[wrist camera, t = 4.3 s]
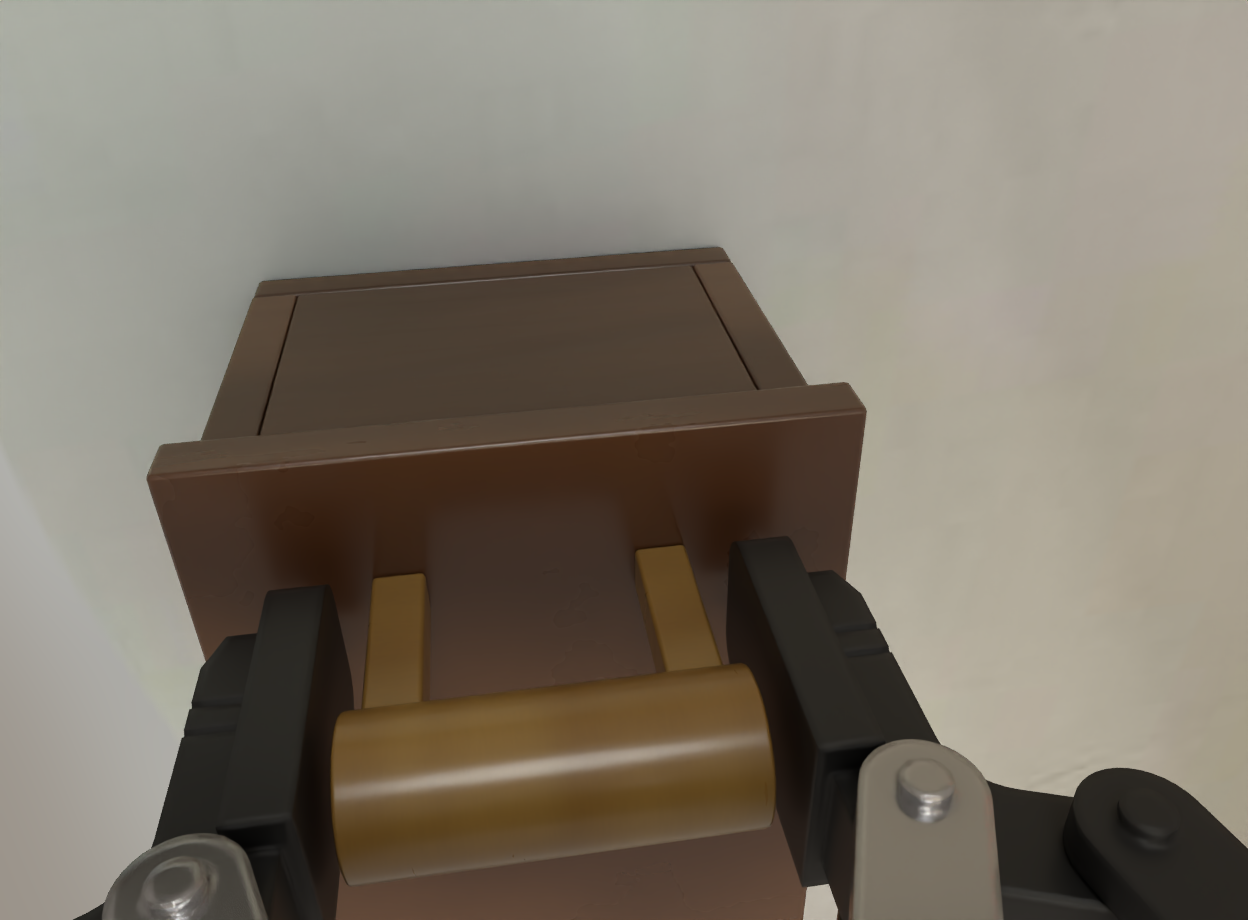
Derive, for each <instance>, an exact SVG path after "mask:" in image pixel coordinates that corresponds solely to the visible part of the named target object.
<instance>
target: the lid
mask: <svg viewBox="0 0 1248 920" xmlns="http://www.w3.org/2000/svg"><path fill="white" fill-rule="evenodd" d="M866 412H867V411H866V408H865V406H864V405H863V403H862V402H861V401H860V399H859V398H858V396H857V395H856V393H855V392H854V390H853V389H852V387H851V386H850V385H849V383H845V382H841V383H830V384H819V385H808V386H797V387H786V388H775V389H764V390H753V391H742V392H731V393H720V394H709V395H698V396H687V397H676V398H665V399H654V400H643V401H632V402H621V403H610V404H600V405H589V406H578V407H567V408H556V409H545V410H534V411H523V412H512V413H501V414H490V415H479V416H468V417H457V418H446V419H435V420H424V421H413V422H402V423H391V424H380V425H369V426H358V427H347V428H336V429H325V430H314V431H303V432H292V433H281V434H270V435H259V436H248V437H237V438H226V439H215V440H204V441H193V442H182V443H171V444H163V445H161V446H159V449H158V451H157V453H156V456H155V458H154V460H153V463H152V465H151V467H150V470H149V472H148V474H147V478H146V480H147V483H148V486H149V489H150V492H151V495H152V498H153V501H154V504H155V507H156V510H157V513H158V516H159V519H160V522H161V526H162V529H163V532H164V535H165V538H166V541H167V544H168V547H169V550H170V553H171V556H172V559H173V562H174V565H175V569H176V572H177V575H178V578H179V581H180V584H181V587H182V590H183V593H184V596H185V599H186V602H187V605H188V608H189V611H190V615H191V618H192V621H193V624H194V627H195V630H196V633H197V636H198V639H199V642H200V645H201V648H202V651H203V654H204V657H205V661H207V660H208V659H209V658H210V656H211V655H212V654H213V653H214V651H215V650H216V649H217V648H218V646H219V645H220V644H221V643H222V641H223V640H224V639H225V638H226V636H235V635H244V634H253V633H257V631H258V627H259V622H260V618H261V613H262V608H263V604H264V599H265V596H266V594H267V592H268V591H270V590H278V589H287V588H297V587H306V586H315V585H325V584H328V585H330V587H331V589H332V592H333V595H334V599H335V604H336V608H337V613H338V617H339V622H340V626H341V631H342V635H343V640H344V644H345V649H346V653H347V657H348V662H349V666H350V671H351V677H352V684H353V694H354V710H348V711H344V712H342V713H340V714H339V715H338V717H337V720H336V723H335V726H334V731H333V736H332V744H331V757H330V801H331V817H332V827H333V836H334V843H335V850H336V855H337V860H338V864H339V868H340V878H339V889H338V900H337V911H336V920H803V914H804V906H805V898H806V890H807V887H804V888H802V886H801V883H800V879H799V876H798V873H797V870H796V867H795V864H794V861H793V858H792V855H791V852H790V849H789V846H788V843H787V840H786V837H785V834H784V831H783V828H782V825H781V822H780V819H779V816H778V813H777V810H776V770H775V760H774V752H773V745H772V739H771V733H770V728H769V723H768V718H767V714H766V710H765V706H764V702H763V699H762V696H761V693H760V689H759V687H758V684H757V682H756V680H755V677H754V675H753V673H752V672H751V670H750V669H749V667H748V666H747V665H745V664H743V663H735V664H729V659H728V652H727V643H726V616H727V594H728V572H729V553H730V547H731V544H732V542H734V541H743V540H753V539H762V538H771V537H781V536H788V537H790V539H791V540H792V542H793V544H794V546H795V548H796V550H797V552H798V554H799V556H800V558H801V561H802V563H803V565H804V567H805V569H806V571H807V573H808V572H817V571H826V570H833V571H834V572H836V573H837V574H838V575H839V576H840V577H842V578H843V579H844V580H846V572H847V564H848V556H849V548H850V540H851V532H852V524H853V516H854V508H855V500H856V492H857V484H858V476H859V468H860V460H861V452H862V444H863V436H864V428H865V420H866Z"/></svg>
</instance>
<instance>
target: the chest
mask: <svg viewBox="0 0 1248 920" xmlns="http://www.w3.org/2000/svg"><path fill="white" fill-rule="evenodd" d="M797 386H808V384H807V383H806V381H805V380H804V378H803V376H802V375H801V373H800V371H799V370H798V368H797V367H796V365H795V363H794V362H793V360H792V358H791V357H790V355H789V354H788V352H787V350H786V349H785V347H784V346H783V344H782V342H781V341H780V339H779V337H778V336H777V334H776V333H775V331H774V329H773V328H772V326H771V325H770V323H769V321H768V320H767V318H766V316H765V315H764V313H763V312H762V310H761V308H760V307H759V305H758V304H757V302H756V300H755V299H754V297H753V295H752V294H751V292H750V291H749V289H748V287H747V286H746V284H745V283H744V281H743V279H742V278H741V276H740V274H739V273H738V271H737V270H736V268H735V266H734V265H733V263H731V261H730V259H729V257H728V256H727V254H726V252H725V251H724V249H723V248H721V247H715V248H702V249H688V250H675V251H661V252H648V253H635V254H621V255H608V256H594V257H581V258H568V259H554V260H541V261H528V262H514V263H501V264H487V265H474V266H461V267H447V268H434V269H420V270H407V271H394V272H380V273H367V274H353V275H340V276H327V277H313V278H300V279H286V280H273V281H262V282H260V283H259V285H258V288H257V291H256V294H255V297H254V298H253V299H252V302H251V304H250V307H249V310H248V313H247V315H246V318H245V321H244V324H243V326H242V329H241V332H240V334H239V337H238V340H237V343H236V345H235V348H234V351H233V354H232V356H231V359H230V362H229V364H228V367H227V370H226V373H225V375H224V378H223V381H222V384H221V386H220V389H219V392H218V395H217V397H216V400H215V403H214V405H213V408H212V411H211V414H210V416H209V419H208V422H207V425H206V427H205V430H204V433H203V435H202V438H201V441H204V440H215V439H226V438H237V437H248V436H259V435H270V434H281V433H292V432H303V431H314V430H325V429H336V428H347V427H358V426H369V425H380V424H391V423H402V422H413V421H424V420H435V419H446V418H457V417H468V416H479V415H490V414H501V413H512V412H523V411H534V410H545V409H556V408H567V407H578V406H589V405H600V404H610V403H621V402H632V401H643V400H654V399H665V398H676V397H687V396H698V395H709V394H720V393H731V392H742V391H753V390H764V389H775V388H786V387H797Z"/></svg>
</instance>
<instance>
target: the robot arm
mask: <svg viewBox="0 0 1248 920" xmlns="http://www.w3.org/2000/svg"><path fill="white" fill-rule="evenodd" d="M726 643H727V652H728V659H729V664H735V663H743V664H745V665H747V666H748V667H749V669H750V670H751V672H752V673H753V675H754V677H755V680H756V682H757V684H758V687H759V689H760V693H761V696H762V699H763V702H764V706H765V710H766V714H767V718H768V723H769V728H770V733H771V739H772V745H773V752H774V760H775V770H776V810H777V813H778V816H779V819H780V822H781V825H782V828H783V831H784V834H785V837H786V840H787V843H788V846H789V849H790V852H791V855H792V858H793V861H794V864H795V867H796V870H797V873H798V876H799V879H800V883H801V886H802V888H804V887H810V886H817V885H824V884H829V886H830V888H831V891H832V894H833V897H834V900H835V902H836V905H837V908H838V914H837V920H1248V848H1246V847H1245V846H1244V845H1243V844H1242V843H1241V842H1240V841H1239V840H1238V839H1237V838H1236V837H1235V836H1234V835H1233V834H1232V833H1231V832H1230V831H1229V830H1228V829H1227V828H1226V827H1224V826H1223V825H1222V824H1221V823H1220V822H1219V821H1218V820H1217V819H1216V818H1215V817H1214V816H1213V815H1212V814H1211V813H1210V812H1209V811H1208V810H1207V809H1206V808H1205V807H1204V806H1202V805H1201V804H1200V803H1199V802H1198V801H1197V800H1196V799H1195V798H1194V797H1193V796H1191V795H1190V794H1189V793H1188V792H1186V791H1185V790H1183V789H1182V788H1181V787H1179V786H1178V785H1176V784H1174V783H1172V782H1170V781H1168V780H1167V779H1165V778H1162V777H1160V776H1157V775H1155V774H1152V773H1148V772H1145V771H1141V770H1136V769H1130V768H1111V769H1104V770H1101V771H1097V772H1095V773H1093V774H1091V775H1089V776H1088V777H1086V778H1085V779H1084V780H1083V781H1082V782H1081V783H1080V785H1079V786H1078V787H1077V790H1076V792H1075V795H1074V797H1068V796H1061V795H1054V794H1047V793H1040V792H1033V791H1026V790H1019V789H1014V788H1009V787H1004V786H1001V785H998V784H995V783H992V782H990V781H987V780H986V779H985V778H984V776H983V775H982V773H981V772H980V771H979V770H978V769H977V768H976V766H975V765H974V764H973V763H971V762H970V761H969V760H968V759H967V758H965V757H964V756H962V755H961V754H959V753H958V752H956V751H954V750H952V749H950V748H948V747H946V746H943V745H941V744H940V742H939V741H938V739H937V738H936V736H935V734H934V732H933V730H932V728H931V726H930V724H929V722H928V720H927V719H926V717H925V715H924V713H923V711H922V709H921V707H920V705H919V703H918V701H917V699H916V698H915V696H914V694H913V692H912V690H911V688H910V686H909V684H908V682H907V680H906V678H905V677H904V675H903V673H902V671H901V669H900V667H899V665H898V663H897V661H896V659H895V658H894V656H893V654H892V652H891V653H890V652H889V646H888V644H887V642H886V640H885V638H884V637H883V635H882V633H881V631H880V629H879V628H878V629H877V627H876V621H875V619H874V617H873V616H872V614H871V612H870V610H869V608H868V606H867V604H866V602H865V600H864V598H863V596H862V595H861V593H860V592H858V591H857V590H856V589H855V588H854V587H852V586H851V585H850V584H849V583H848V582H846V581H845V580H844V579H843V578H842V577H840V576H839V575H838V574H837V573H836V572H834V571H833V570H826V571H817V572H808V573H807V571H806V569H805V567H804V565H803V563H802V561H801V558H800V556H799V554H798V552H797V550H796V548H795V546H794V544H793V542H792V540H791V539H790V537H788V536H781V537H771V538H762V539H753V540H743V541H734V542H732V544H731V547H730V553H729V572H728V594H727V616H726ZM348 710H354V694H353V684H352V677H351V671H350V666H349V662H348V657H347V653H346V649H345V644H344V640H343V635H342V631H341V626H340V622H339V617H338V613H337V608H336V604H335V599H334V595H333V592H332V589H331V587H330V585H328V584H325V585H315V586H306V587H297V588H287V589H278V590H270V591H268V592H267V594H266V596H265V599H264V604H263V608H262V613H261V618H260V622H259V627H258V631H257V633H253V634H244V635H235V636H226V638H225V639H224V640H223V641H222V643H221V644H220V645H219V646H218V648H217V649H216V650H215V651H214V653H213V654H212V655H211V656H210V658H209V659H208V660H207V661H206V663H205V664H204V665H203V666H202V667H201V669H200V673H199V677H198V681H197V684H196V688H195V692H194V695H193V699H192V709H190V710H189V714H188V717H187V721H186V725H185V728H184V738H182V739H181V743H180V747H179V750H178V754H177V758H176V762H175V765H174V769H173V773H172V776H171V780H170V784H169V787H168V791H167V795H166V798H165V802H164V806H163V809H162V813H161V817H160V820H159V824H158V828H157V831H156V835H155V839H154V842H153V845H152V847H151V849H150V850H148V851H146V852H145V853H143V854H142V855H140V856H139V857H138V858H137V859H135V860H134V861H133V862H132V863H131V864H130V865H129V866H128V867H127V868H126V869H125V870H124V871H123V872H122V873H121V874H120V876H119V877H118V878H117V879H116V881H115V882H114V884H113V886H112V887H111V889H110V891H109V893H108V895H107V898H106V900H105V902H104V903H103V904H101V905H100V906H98V907H97V908H95V909H93V910H91V911H90V912H88V913H86V914H84V915H82V916H80V917H77V918H76V919H73V920H336V911H337V900H338V889H339V878H340V868H339V864H338V860H337V855H336V850H335V843H334V836H333V827H332V817H331V801H330V757H331V744H332V736H333V731H334V726H335V723H336V720H337V717H338V715H339V714H340V713H342V712H344V711H348Z"/></svg>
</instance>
